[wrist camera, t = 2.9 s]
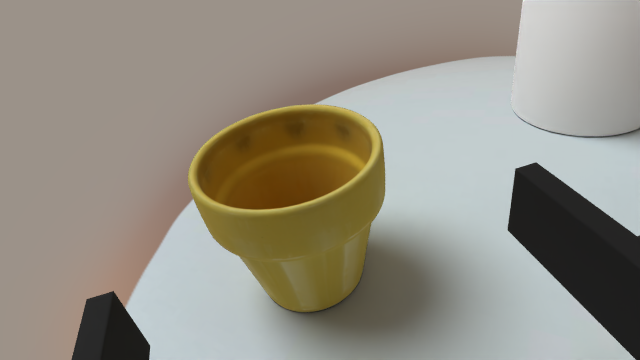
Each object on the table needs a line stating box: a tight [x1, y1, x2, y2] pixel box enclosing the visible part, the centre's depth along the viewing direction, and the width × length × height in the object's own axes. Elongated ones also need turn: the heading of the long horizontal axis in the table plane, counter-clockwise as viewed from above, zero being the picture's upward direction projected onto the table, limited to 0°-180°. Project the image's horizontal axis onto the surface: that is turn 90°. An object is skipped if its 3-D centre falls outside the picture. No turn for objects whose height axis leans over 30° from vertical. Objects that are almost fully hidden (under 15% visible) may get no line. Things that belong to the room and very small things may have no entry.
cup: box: [511, 0, 640, 136], centre depth 36 cm, size 12×12×12 cm
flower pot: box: [188, 105, 385, 312], centre depth 25 cm, size 10×10×10 cm
